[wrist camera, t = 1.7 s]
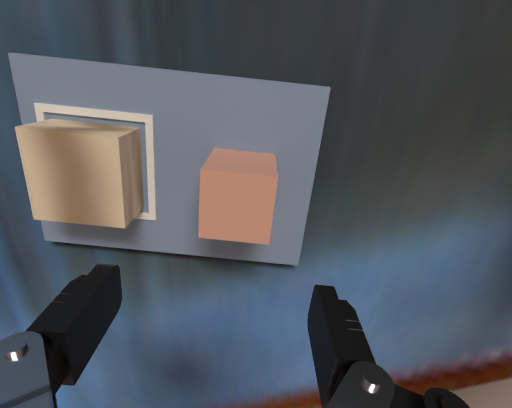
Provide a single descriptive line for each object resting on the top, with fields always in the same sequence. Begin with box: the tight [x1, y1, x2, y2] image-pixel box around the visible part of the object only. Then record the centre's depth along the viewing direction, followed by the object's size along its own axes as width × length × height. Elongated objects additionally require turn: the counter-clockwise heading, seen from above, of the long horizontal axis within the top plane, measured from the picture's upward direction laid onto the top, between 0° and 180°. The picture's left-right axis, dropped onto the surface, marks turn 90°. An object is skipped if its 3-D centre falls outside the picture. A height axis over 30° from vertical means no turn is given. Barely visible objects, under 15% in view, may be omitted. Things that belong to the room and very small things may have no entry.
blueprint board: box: [8, 53, 331, 266], centre depth 27 cm, size 24×16×1 cm, turn 84°
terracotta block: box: [198, 148, 278, 245], centre depth 24 cm, size 5×5×6 cm
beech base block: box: [15, 119, 144, 228], centre depth 24 cm, size 7×7×4 cm
